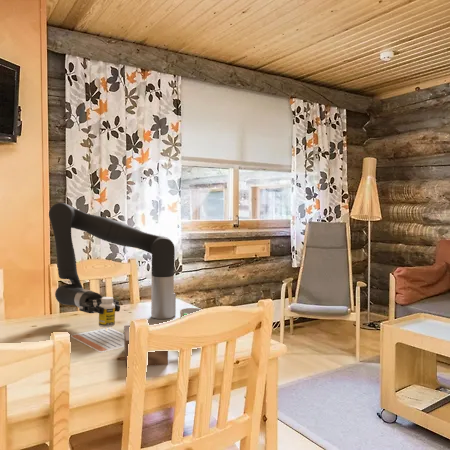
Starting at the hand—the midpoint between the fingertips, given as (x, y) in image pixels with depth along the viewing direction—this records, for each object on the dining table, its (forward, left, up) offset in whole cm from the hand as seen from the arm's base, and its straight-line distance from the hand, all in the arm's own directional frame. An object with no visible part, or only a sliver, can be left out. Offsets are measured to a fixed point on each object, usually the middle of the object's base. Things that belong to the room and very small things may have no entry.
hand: (110, 309), depth 153 cm
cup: (-22, +17, -11) cm, 30 cm away
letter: (+1, -2, -11) cm, 11 cm away
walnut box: (0, +22, -11) cm, 24 cm away
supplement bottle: (0, -3, -6) cm, 7 cm away
